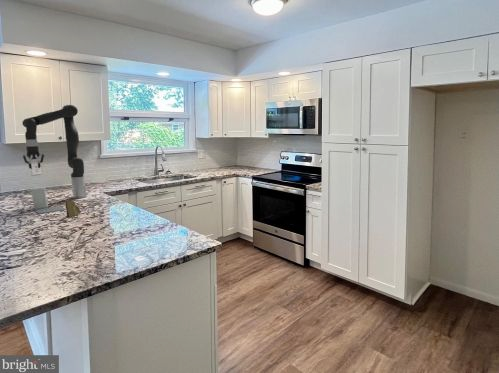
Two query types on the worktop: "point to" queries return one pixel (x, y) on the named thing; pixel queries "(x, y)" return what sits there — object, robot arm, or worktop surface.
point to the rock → (71, 208)
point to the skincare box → (39, 197)
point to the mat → (49, 209)
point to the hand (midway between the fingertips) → (34, 168)
